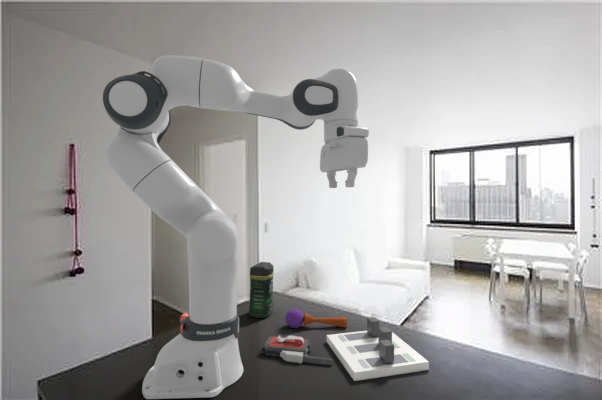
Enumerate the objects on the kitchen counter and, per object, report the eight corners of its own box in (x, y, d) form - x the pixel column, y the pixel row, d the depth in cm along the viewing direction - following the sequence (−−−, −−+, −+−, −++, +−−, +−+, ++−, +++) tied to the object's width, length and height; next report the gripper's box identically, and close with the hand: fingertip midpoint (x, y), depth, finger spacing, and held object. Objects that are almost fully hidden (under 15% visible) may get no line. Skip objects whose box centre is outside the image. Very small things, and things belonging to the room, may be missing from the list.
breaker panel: (354, 381, 73) (354, 372, 73) (326, 341, 92) (326, 334, 92) (428, 369, 78) (428, 361, 78) (387, 334, 97) (387, 328, 97)
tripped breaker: (385, 363, 76) (385, 346, 76) (379, 356, 79) (379, 340, 79) (394, 361, 77) (394, 345, 77) (387, 355, 80) (387, 339, 80)
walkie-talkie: (257, 360, 83) (332, 368, 79) (257, 343, 83) (332, 351, 79) (267, 344, 91) (335, 351, 87) (267, 329, 91) (335, 335, 87)
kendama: (348, 319, 99) (285, 314, 99) (346, 336, 101) (284, 331, 100) (345, 309, 105) (286, 304, 105) (343, 325, 107) (285, 320, 106)
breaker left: (371, 336, 91) (371, 322, 91) (367, 331, 94) (367, 318, 94) (379, 335, 91) (379, 321, 91) (374, 331, 94) (374, 317, 94)
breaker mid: (383, 347, 84) (384, 332, 84) (378, 342, 87) (378, 327, 87) (391, 346, 85) (391, 331, 85) (386, 341, 88) (386, 326, 87)
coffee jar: (268, 320, 108) (268, 266, 108) (246, 318, 110) (246, 265, 109) (276, 310, 117) (276, 260, 117) (256, 308, 119) (256, 259, 119)
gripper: (314, 140, 90) (314, 188, 91) (349, 126, 71) (349, 186, 72) (334, 141, 93) (334, 188, 93) (372, 128, 73) (372, 186, 74)
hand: (341, 187), depth 82 cm, fingers open, 8 cm apart
